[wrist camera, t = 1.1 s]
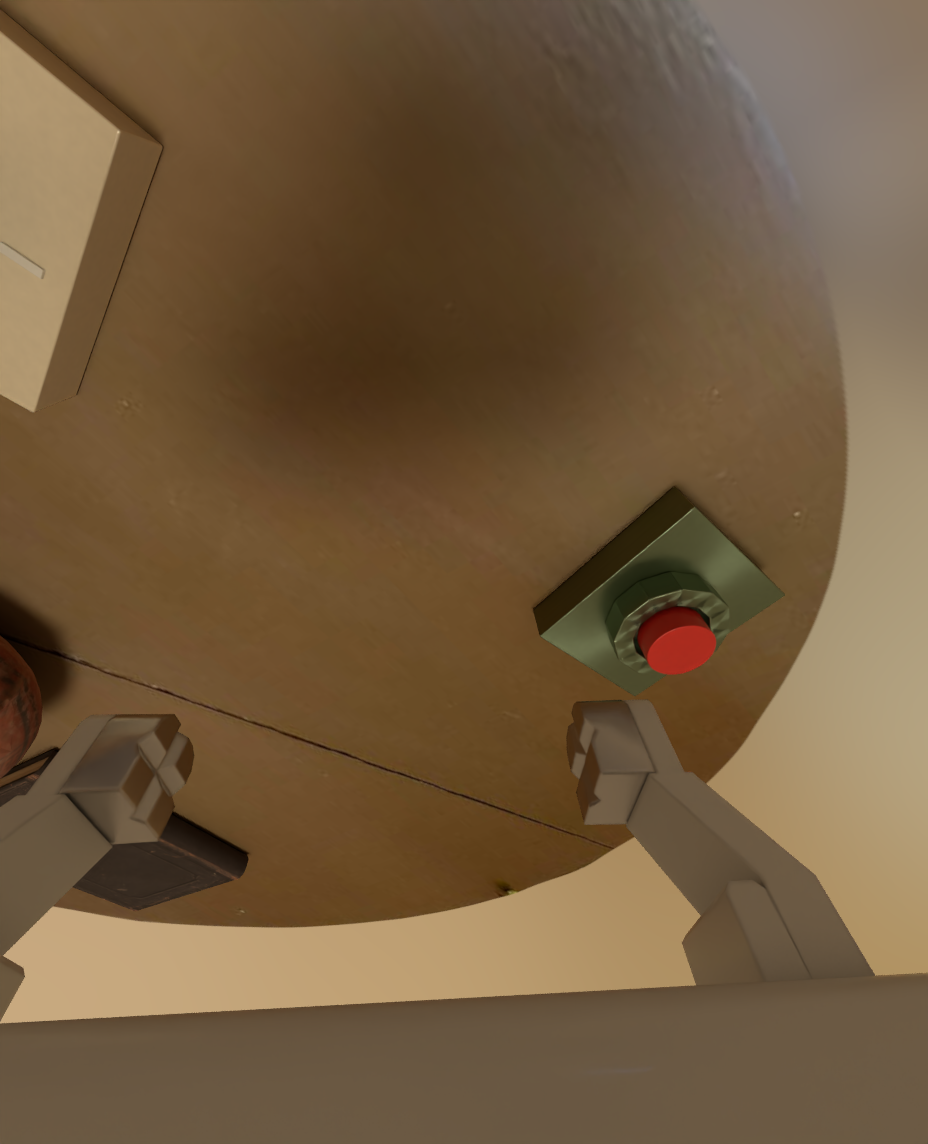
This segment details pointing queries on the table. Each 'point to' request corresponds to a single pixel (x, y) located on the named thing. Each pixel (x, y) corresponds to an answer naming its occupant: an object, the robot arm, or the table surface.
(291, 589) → the table surface
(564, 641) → the button box
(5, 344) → the hob panel
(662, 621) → the red push button
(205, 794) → the table surface
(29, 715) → the bowl
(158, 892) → the old dark book
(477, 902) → the table surface
